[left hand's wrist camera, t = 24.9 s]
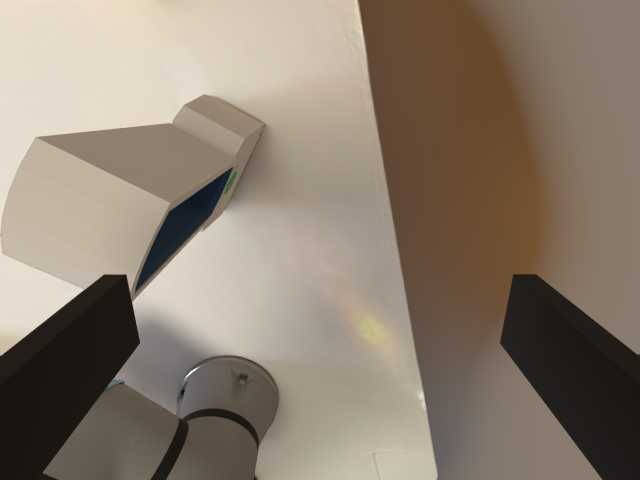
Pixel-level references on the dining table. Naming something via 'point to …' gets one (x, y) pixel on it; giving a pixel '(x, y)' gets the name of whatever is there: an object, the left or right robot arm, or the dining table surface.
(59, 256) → the electronic device
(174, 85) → the dining table surface
